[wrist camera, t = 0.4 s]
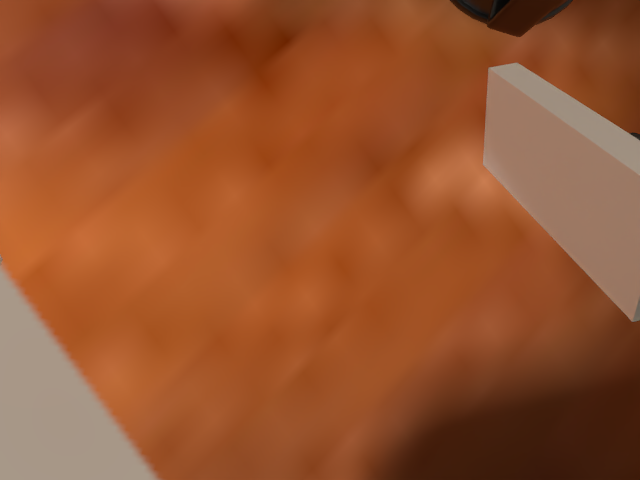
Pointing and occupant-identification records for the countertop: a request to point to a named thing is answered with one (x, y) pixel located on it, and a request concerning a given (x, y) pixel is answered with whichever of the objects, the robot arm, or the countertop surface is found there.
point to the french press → (511, 13)
